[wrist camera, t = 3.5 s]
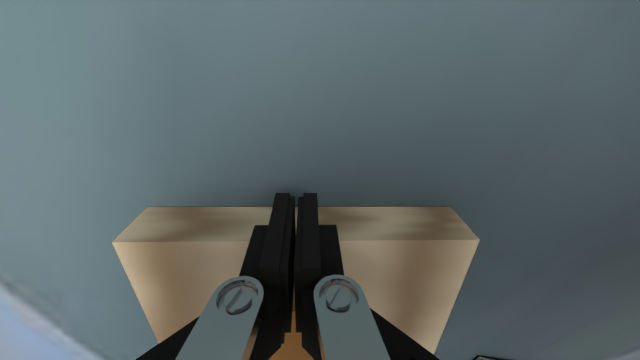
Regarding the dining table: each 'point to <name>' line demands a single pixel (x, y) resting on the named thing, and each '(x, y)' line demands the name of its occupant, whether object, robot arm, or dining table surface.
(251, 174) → the dining table surface
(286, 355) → the ball
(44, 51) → the dining table surface
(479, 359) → the skincare box
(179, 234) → the block
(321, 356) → the robot arm
